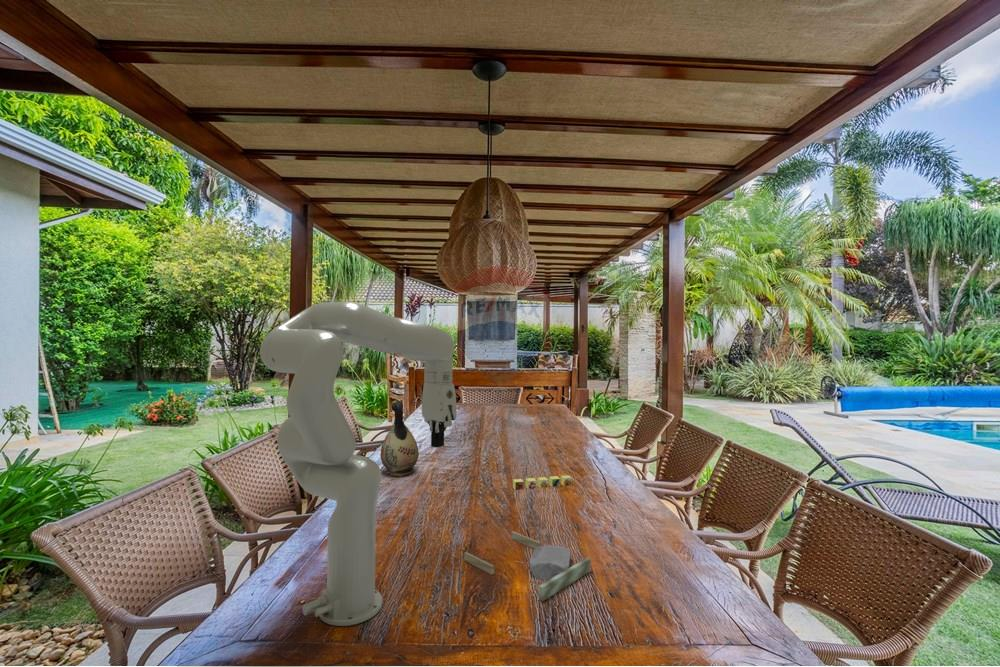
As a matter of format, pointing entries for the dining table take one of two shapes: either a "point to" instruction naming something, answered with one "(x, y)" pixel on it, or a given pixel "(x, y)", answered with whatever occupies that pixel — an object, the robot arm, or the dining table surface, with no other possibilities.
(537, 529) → the dining table surface
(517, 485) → the yellow picture cubes row
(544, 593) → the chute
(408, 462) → the round beige bottle
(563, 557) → the stone block
